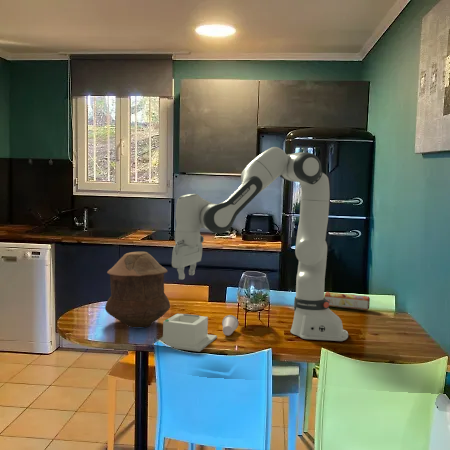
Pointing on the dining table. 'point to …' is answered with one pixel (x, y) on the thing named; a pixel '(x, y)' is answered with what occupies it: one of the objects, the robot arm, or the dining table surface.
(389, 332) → the dining table surface
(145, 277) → the pottery vessel
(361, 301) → the snack package
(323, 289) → the robot arm
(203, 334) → the socket dock
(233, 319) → the smoothie
